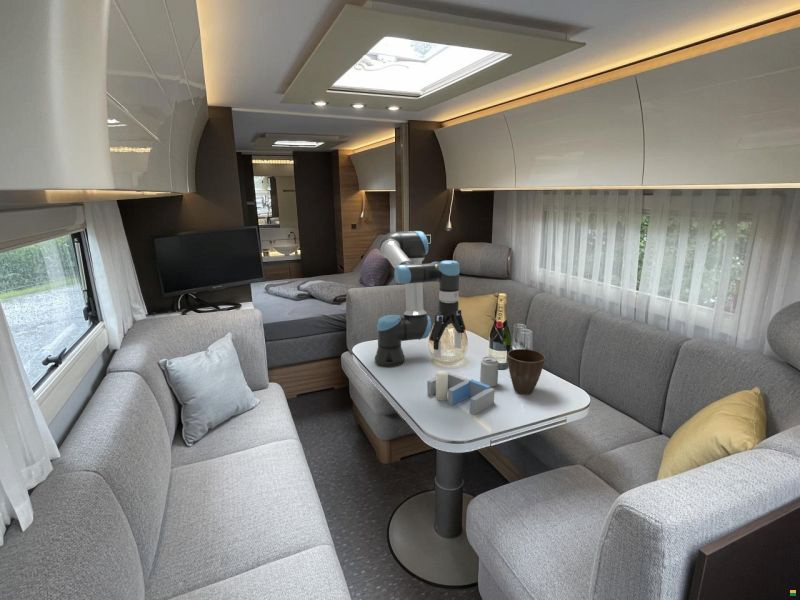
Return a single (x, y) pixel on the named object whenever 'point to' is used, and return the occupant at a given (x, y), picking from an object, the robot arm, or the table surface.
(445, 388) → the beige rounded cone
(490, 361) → the can
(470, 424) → the table surface
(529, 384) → the plant pot
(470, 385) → the folding screen
